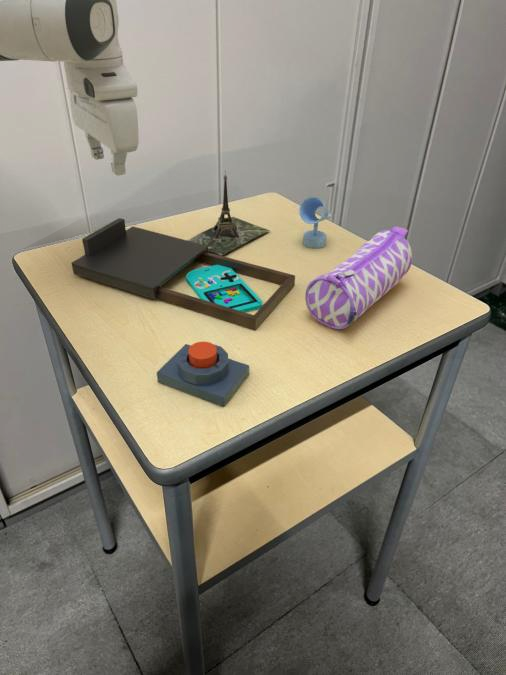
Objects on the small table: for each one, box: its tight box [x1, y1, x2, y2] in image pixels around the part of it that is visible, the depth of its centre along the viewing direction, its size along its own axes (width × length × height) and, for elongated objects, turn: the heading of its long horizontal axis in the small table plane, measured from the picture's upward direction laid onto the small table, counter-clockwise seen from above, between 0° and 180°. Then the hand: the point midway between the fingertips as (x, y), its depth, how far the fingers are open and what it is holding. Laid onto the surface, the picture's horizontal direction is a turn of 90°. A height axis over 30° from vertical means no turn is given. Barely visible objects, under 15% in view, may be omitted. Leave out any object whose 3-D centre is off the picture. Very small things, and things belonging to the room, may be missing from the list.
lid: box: [71, 217, 209, 300], centre depth 90 cm, size 17×17×5 cm
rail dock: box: [155, 251, 296, 331], centre depth 89 cm, size 35×15×2 cm, turn 63°
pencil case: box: [304, 225, 413, 330], centre depth 82 cm, size 22×9×10 cm, turn 143°
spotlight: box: [298, 196, 330, 249], centre depth 98 cm, size 5×10×7 cm
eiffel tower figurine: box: [186, 169, 271, 256], centre depth 99 cm, size 15×10×13 cm
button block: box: [156, 343, 250, 408], centre depth 68 cm, size 10×7×4 cm
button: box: [188, 341, 217, 369], centre depth 66 cm, size 4×4×2 cm
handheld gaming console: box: [185, 265, 263, 313], centre depth 86 cm, size 8×1×15 cm
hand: (108, 165), depth 88 cm, fingers open, 8 cm apart
